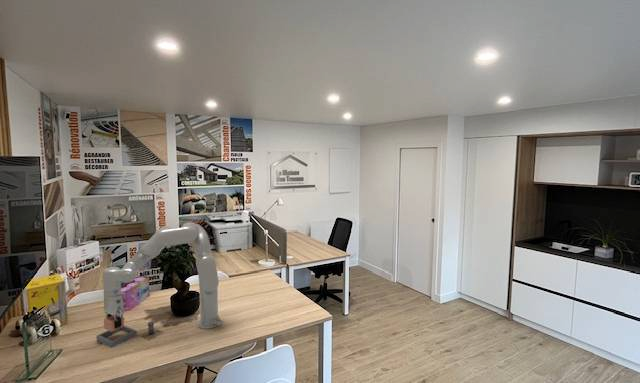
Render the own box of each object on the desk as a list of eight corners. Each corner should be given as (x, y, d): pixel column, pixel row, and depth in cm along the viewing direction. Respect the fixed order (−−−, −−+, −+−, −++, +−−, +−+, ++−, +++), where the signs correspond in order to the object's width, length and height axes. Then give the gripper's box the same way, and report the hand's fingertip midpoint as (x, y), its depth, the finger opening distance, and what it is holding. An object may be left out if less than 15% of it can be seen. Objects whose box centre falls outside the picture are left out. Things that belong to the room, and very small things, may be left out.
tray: (136, 336, 175) (136, 330, 175) (111, 349, 164) (110, 342, 163) (122, 330, 181) (121, 324, 181) (96, 342, 170) (96, 335, 170)
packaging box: (68, 323, 188) (65, 281, 185) (30, 335, 176) (26, 289, 173) (61, 314, 199) (58, 273, 196) (25, 324, 187) (21, 281, 184)
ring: (127, 324, 173) (126, 315, 173) (111, 331, 167) (110, 322, 166) (119, 321, 177) (119, 312, 176) (104, 328, 170) (103, 319, 169)
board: (164, 334, 178) (163, 321, 177) (148, 342, 170) (148, 329, 169) (153, 329, 182) (153, 317, 182) (138, 337, 174) (137, 324, 174)
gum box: (128, 312, 203) (126, 290, 201) (115, 311, 203) (114, 290, 202) (150, 295, 226) (149, 276, 225) (138, 295, 227) (137, 275, 225)
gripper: (130, 292, 168) (131, 326, 170) (110, 286, 176) (112, 318, 178) (114, 298, 161) (116, 333, 163) (95, 290, 170) (97, 324, 172)
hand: (114, 325), depth 171 cm, fingers closed on ring, 6 cm apart
